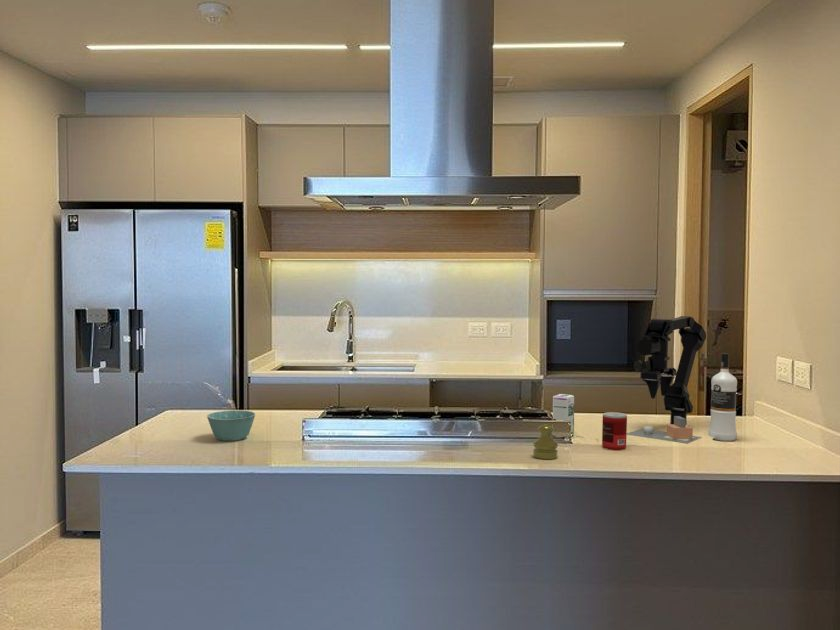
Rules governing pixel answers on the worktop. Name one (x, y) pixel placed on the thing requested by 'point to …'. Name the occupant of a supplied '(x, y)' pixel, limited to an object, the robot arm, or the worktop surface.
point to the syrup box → (564, 409)
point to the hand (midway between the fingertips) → (658, 397)
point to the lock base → (659, 435)
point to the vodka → (723, 403)
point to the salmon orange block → (679, 429)
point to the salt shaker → (545, 444)
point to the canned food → (614, 430)
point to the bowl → (231, 424)
